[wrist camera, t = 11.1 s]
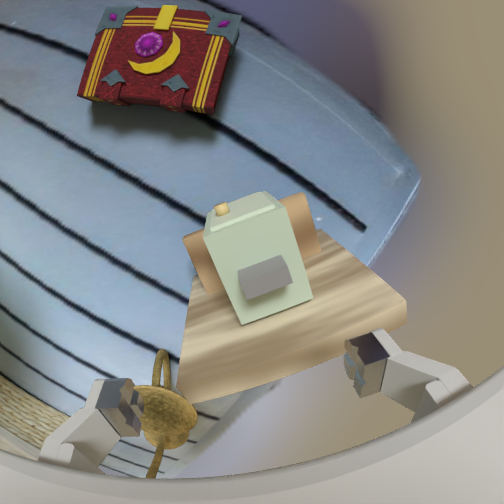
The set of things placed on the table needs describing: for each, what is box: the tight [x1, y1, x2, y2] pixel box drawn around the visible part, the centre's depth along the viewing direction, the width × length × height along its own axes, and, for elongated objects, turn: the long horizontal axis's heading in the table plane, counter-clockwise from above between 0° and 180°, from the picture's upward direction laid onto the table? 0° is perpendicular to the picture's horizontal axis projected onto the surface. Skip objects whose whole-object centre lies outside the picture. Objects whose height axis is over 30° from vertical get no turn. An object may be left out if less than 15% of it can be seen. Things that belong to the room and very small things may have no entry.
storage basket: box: [0, 375, 70, 461], centre depth 33 cm, size 24×16×15 cm
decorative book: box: [77, 5, 242, 115], centre depth 23 cm, size 11×16×5 cm
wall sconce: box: [134, 349, 198, 478], centre depth 26 cm, size 14×10×25 cm
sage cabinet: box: [203, 191, 313, 325], centre depth 22 cm, size 8×6×10 cm
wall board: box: [176, 192, 407, 405], centre depth 25 cm, size 10×16×18 cm, turn 110°
